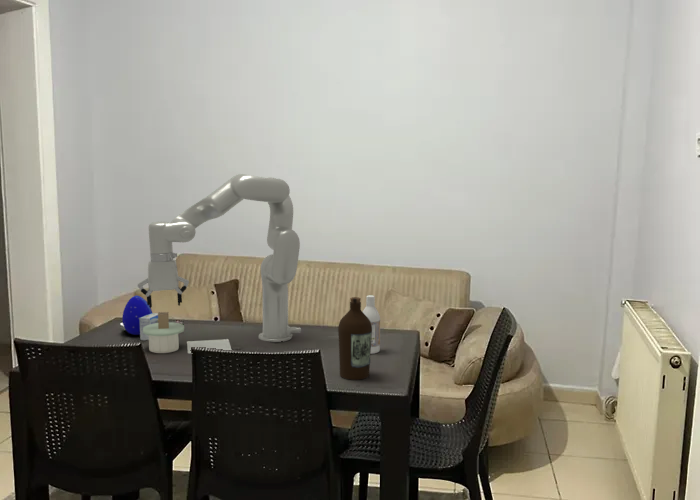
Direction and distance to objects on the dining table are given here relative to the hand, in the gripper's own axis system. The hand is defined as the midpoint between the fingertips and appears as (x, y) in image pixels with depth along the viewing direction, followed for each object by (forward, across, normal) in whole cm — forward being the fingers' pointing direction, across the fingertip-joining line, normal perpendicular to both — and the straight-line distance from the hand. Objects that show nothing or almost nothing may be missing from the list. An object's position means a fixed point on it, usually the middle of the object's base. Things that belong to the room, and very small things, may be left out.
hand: (164, 305), depth 245 cm
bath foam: (+18, -69, +17) cm, 74 cm away
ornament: (+16, +11, -23) cm, 30 cm away
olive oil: (+18, -57, +41) cm, 73 cm away
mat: (+16, -14, 0) cm, 22 cm away
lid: (+9, +1, 0) cm, 9 cm away
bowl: (+16, +1, 0) cm, 16 cm away
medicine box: (+16, +6, -17) cm, 24 cm away
